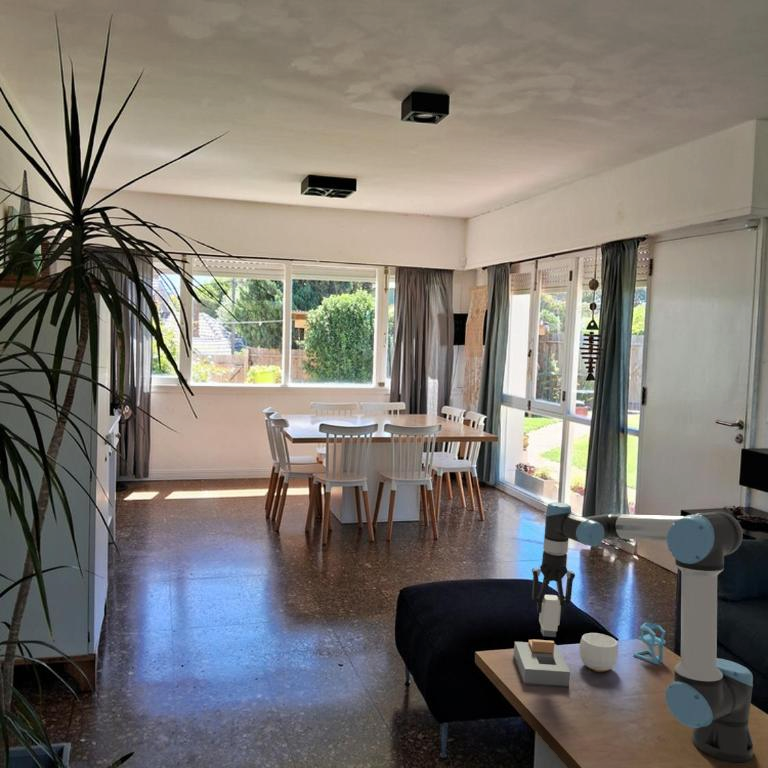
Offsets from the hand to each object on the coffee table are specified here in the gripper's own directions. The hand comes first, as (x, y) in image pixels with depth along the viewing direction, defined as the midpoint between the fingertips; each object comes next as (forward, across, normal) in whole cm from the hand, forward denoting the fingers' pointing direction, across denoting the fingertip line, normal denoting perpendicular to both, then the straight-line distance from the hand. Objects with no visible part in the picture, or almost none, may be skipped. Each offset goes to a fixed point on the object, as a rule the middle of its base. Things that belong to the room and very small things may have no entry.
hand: (549, 622), depth 232 cm
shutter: (+12, 0, -9) cm, 15 cm away
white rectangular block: (+4, 0, 0) cm, 4 cm away
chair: (+18, -40, -18) cm, 47 cm away
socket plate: (+17, +1, -3) cm, 18 cm away
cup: (+18, -19, -8) cm, 27 cm away
